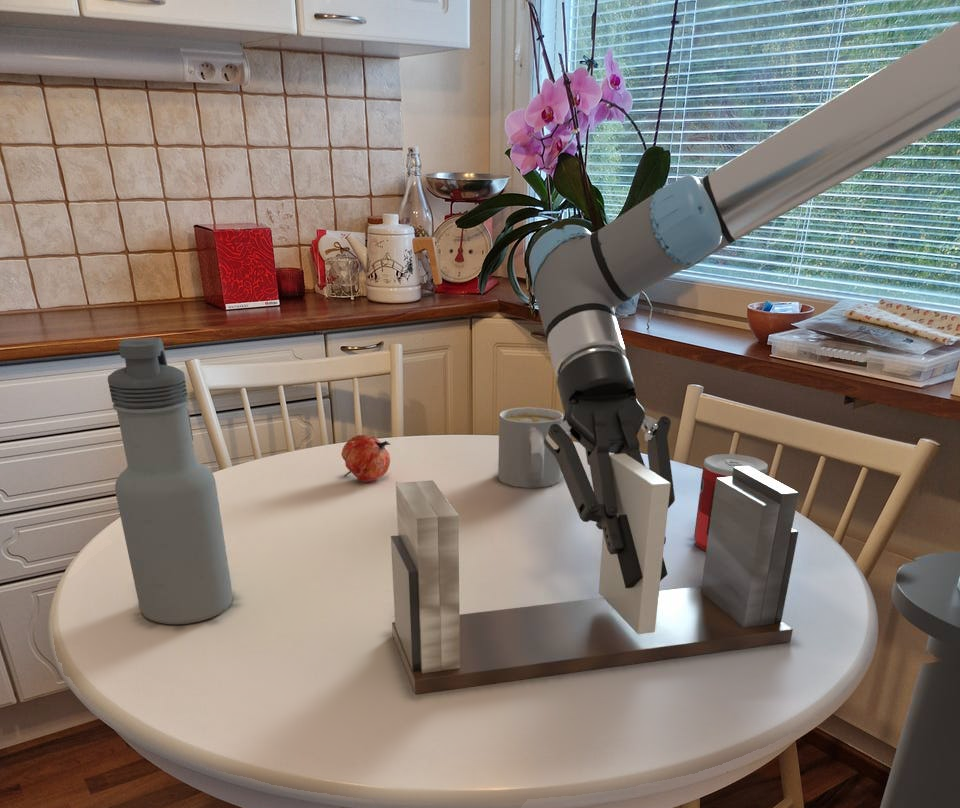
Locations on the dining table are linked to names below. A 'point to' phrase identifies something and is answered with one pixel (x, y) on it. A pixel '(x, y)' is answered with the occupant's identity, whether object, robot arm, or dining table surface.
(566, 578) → the dining table surface
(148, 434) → the water bottle
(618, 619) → the book shelf
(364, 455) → the pomegranate
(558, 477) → the coffee mug
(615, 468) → the white book
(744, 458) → the canned food
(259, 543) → the dining table surface
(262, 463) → the dining table surface
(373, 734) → the dining table surface
